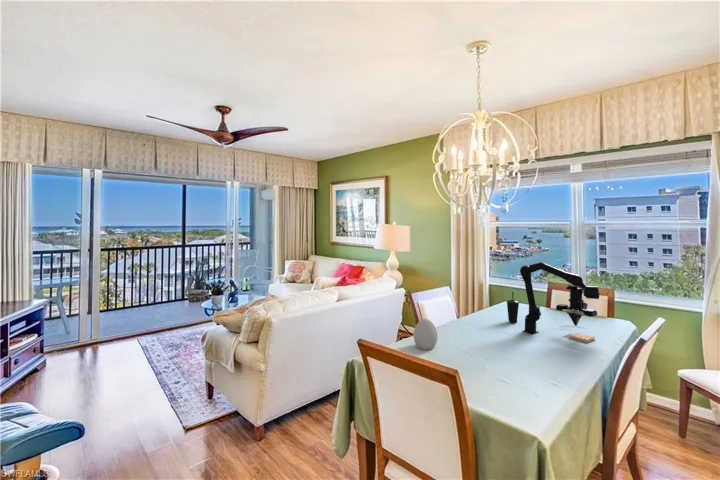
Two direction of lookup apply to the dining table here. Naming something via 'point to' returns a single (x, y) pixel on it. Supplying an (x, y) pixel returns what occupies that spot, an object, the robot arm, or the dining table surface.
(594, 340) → the mat
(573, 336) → the tile
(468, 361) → the dining table surface
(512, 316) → the drinking cup
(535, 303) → the robot arm
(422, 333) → the decorative egg
